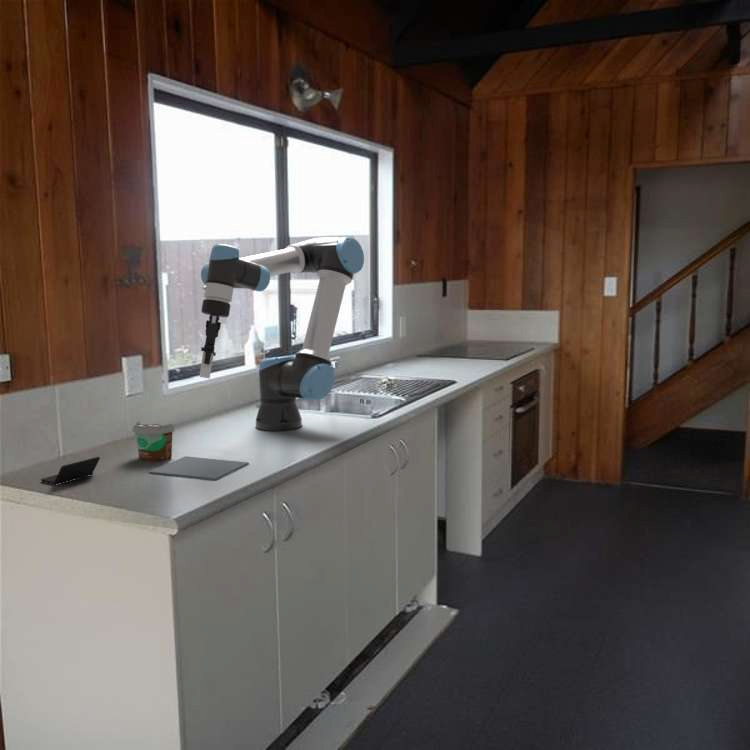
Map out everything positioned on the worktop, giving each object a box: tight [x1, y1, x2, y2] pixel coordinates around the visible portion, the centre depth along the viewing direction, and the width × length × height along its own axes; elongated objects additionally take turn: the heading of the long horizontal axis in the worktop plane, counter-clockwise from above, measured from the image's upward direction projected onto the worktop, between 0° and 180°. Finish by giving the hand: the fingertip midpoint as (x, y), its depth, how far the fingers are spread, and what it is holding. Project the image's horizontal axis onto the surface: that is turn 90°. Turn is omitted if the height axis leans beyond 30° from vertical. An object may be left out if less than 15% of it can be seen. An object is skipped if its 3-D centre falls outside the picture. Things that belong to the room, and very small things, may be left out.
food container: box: [132, 420, 175, 463], centre depth 203 cm, size 12×6×10 cm, turn 68°
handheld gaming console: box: [40, 456, 101, 486], centre depth 186 cm, size 12×7×10 cm
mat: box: [148, 455, 250, 481], centre depth 195 cm, size 16×20×1 cm
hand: (204, 377), depth 203 cm, fingers open, 13 cm apart
